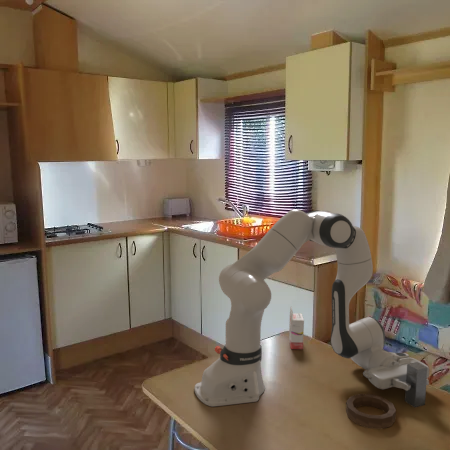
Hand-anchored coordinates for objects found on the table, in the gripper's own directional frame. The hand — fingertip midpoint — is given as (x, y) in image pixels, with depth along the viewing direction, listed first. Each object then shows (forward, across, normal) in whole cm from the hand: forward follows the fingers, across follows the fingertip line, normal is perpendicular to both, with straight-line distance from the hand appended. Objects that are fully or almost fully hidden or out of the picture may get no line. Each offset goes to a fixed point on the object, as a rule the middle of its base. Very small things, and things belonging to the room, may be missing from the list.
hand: (418, 385), depth 142 cm
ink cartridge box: (-52, -10, +6) cm, 53 cm away
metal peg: (-1, 0, +6) cm, 6 cm away
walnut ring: (-1, -17, +6) cm, 18 cm away
